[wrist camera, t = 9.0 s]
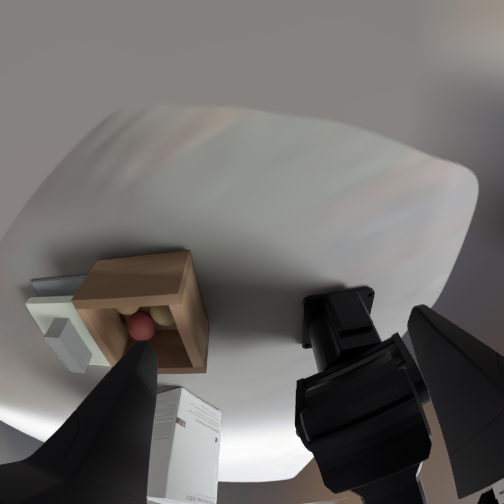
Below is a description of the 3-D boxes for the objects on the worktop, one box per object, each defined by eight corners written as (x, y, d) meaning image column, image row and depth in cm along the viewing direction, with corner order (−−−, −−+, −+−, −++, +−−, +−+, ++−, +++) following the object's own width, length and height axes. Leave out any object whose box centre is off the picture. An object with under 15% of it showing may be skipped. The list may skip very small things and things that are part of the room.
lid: (131, 352, 26) (120, 386, 22) (70, 349, 26) (56, 378, 22) (97, 287, 22) (77, 323, 18) (34, 291, 22) (13, 320, 18)
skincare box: (222, 410, 34) (222, 510, 21) (190, 419, 35) (184, 510, 22) (179, 383, 30) (167, 501, 17) (147, 394, 31) (130, 497, 18)
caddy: (209, 327, 24) (206, 373, 20) (129, 330, 24) (115, 372, 20) (189, 249, 20) (177, 293, 16) (96, 260, 20) (70, 300, 16)
